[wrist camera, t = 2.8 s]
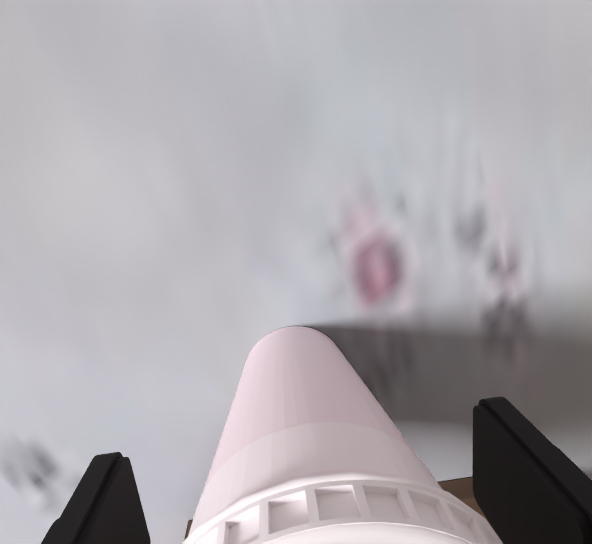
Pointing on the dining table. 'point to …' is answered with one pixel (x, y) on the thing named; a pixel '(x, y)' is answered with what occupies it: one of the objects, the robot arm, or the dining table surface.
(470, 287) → the dining table surface
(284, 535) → the smoothie
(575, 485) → the robot arm
